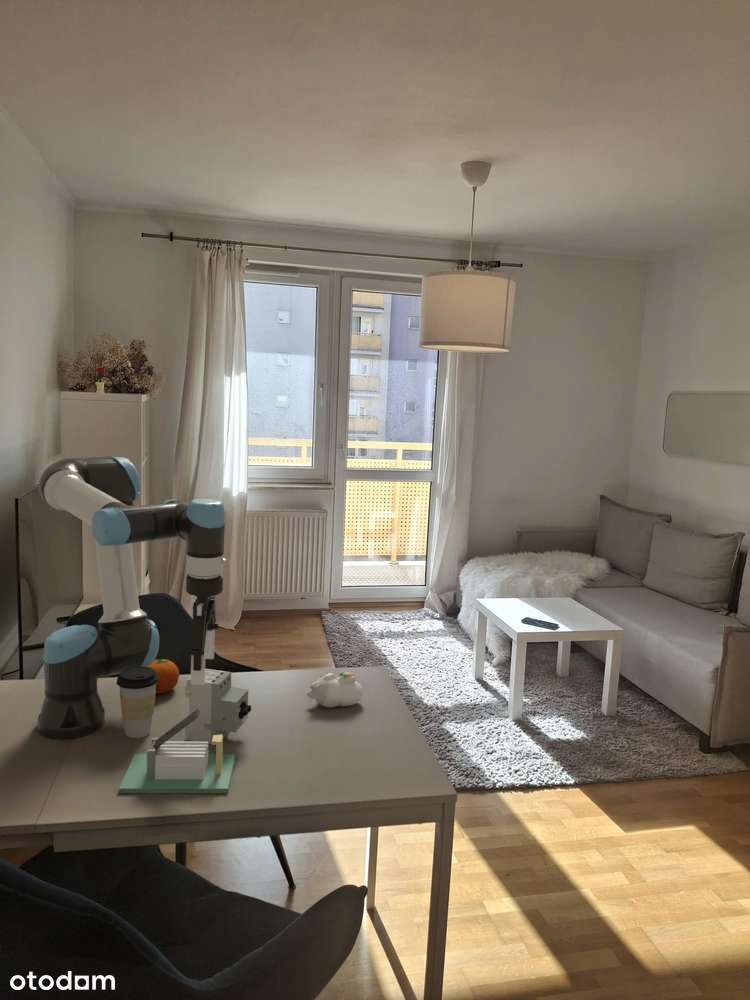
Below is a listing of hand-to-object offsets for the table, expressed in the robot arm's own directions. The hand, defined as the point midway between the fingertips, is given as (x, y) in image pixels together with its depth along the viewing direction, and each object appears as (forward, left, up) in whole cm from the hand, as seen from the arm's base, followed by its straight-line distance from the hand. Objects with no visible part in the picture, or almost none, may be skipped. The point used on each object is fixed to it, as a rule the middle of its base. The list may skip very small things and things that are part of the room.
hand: (202, 670), depth 156 cm
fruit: (-36, +27, -23) cm, 51 cm away
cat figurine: (+9, +44, -23) cm, 51 cm away
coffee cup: (-24, +6, -23) cm, 34 cm away
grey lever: (-3, -4, -13) cm, 14 cm away
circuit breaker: (-6, +14, -23) cm, 28 cm away
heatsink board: (-3, -4, -23) cm, 23 cm away
